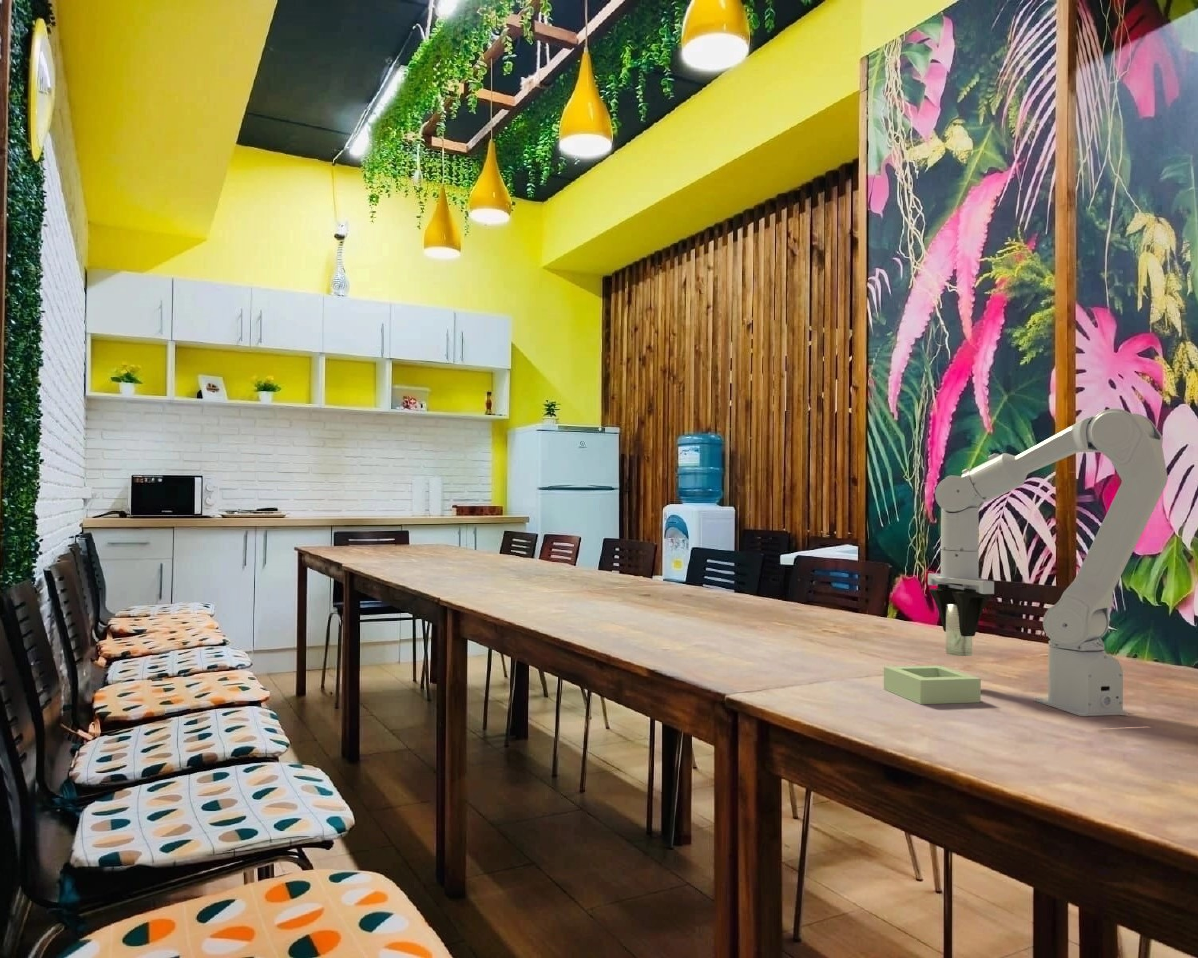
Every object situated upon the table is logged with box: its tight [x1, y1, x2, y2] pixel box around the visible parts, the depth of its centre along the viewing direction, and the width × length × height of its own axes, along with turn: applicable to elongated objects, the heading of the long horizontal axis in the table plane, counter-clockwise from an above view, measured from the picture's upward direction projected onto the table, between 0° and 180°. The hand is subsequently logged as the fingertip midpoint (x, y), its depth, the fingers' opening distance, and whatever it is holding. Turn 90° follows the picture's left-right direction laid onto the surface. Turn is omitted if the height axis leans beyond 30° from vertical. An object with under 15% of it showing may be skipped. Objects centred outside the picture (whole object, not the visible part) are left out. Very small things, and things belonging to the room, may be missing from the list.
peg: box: [945, 603, 973, 657], centre depth 138 cm, size 4×4×8 cm
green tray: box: [883, 665, 982, 705], centre depth 130 cm, size 10×10×4 cm
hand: (959, 633), depth 138 cm, fingers closed on peg, 4 cm apart
